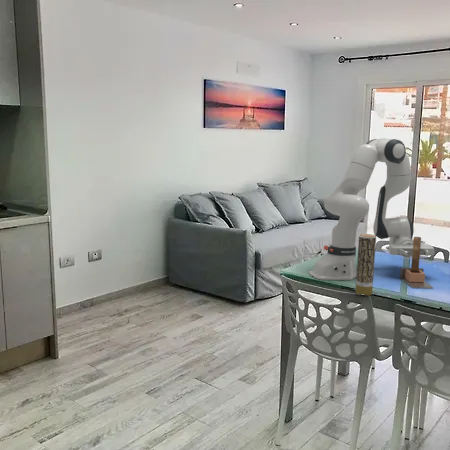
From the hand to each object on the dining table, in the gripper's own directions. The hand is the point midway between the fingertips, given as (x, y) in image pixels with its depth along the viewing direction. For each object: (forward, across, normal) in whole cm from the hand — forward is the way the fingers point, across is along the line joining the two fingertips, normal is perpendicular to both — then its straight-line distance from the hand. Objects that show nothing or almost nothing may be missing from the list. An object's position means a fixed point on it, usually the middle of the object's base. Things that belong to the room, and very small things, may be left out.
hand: (416, 253), depth 230 cm
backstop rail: (+3, 0, +13) cm, 13 cm away
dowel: (0, 0, +12) cm, 13 cm away
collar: (0, 0, +13) cm, 13 cm away
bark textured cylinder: (+21, -28, +13) cm, 38 cm away
